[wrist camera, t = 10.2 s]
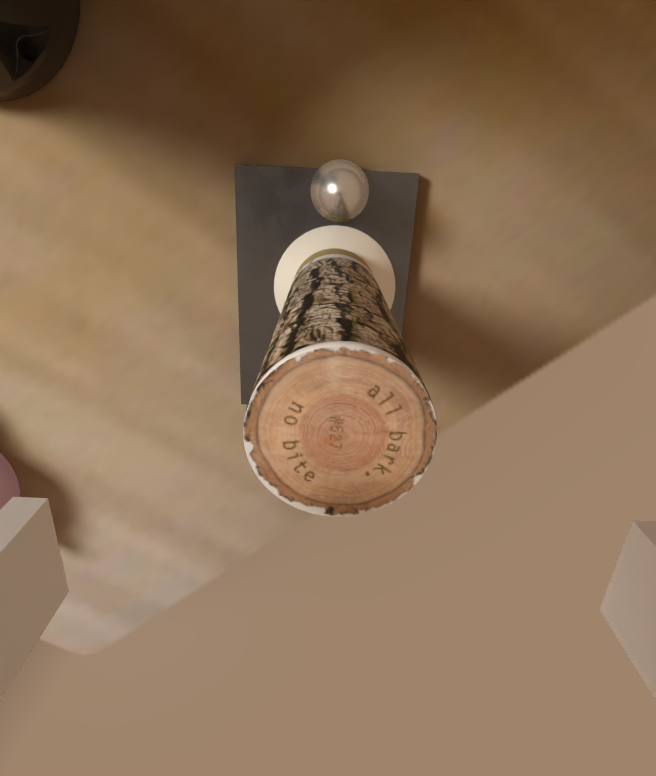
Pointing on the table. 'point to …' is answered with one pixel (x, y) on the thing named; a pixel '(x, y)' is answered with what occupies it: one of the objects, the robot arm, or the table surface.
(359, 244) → the white dome cap
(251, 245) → the plate
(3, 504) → the clip
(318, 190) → the collar post
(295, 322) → the paper tube
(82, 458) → the table surface
